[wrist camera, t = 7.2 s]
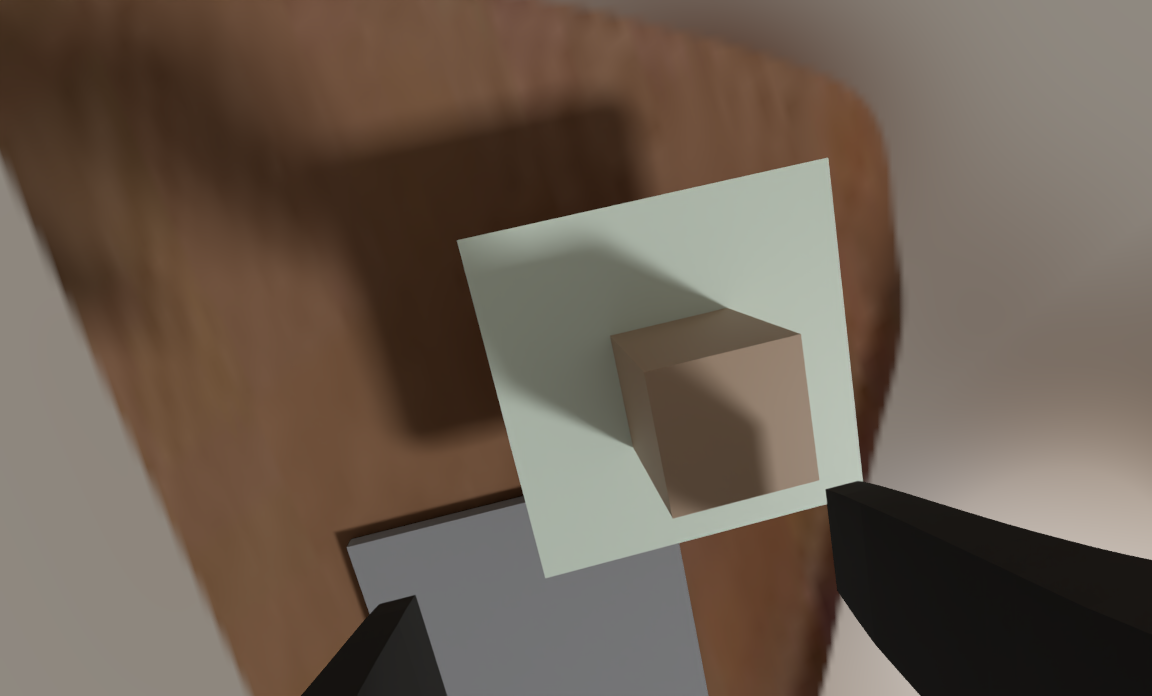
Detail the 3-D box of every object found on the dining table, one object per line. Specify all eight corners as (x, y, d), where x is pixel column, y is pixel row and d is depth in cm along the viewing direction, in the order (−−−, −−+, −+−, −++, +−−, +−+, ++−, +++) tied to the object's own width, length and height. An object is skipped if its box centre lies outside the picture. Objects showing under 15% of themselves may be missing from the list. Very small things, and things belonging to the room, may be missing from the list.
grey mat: (708, 711, 22) (713, 722, 22) (436, 788, 21) (434, 801, 21) (660, 461, 20) (664, 467, 19) (351, 539, 19) (346, 547, 18)
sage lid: (846, 481, 16) (969, 572, 12) (543, 560, 15) (555, 687, 11) (810, 161, 14) (941, 130, 10) (460, 239, 13) (435, 243, 9)
